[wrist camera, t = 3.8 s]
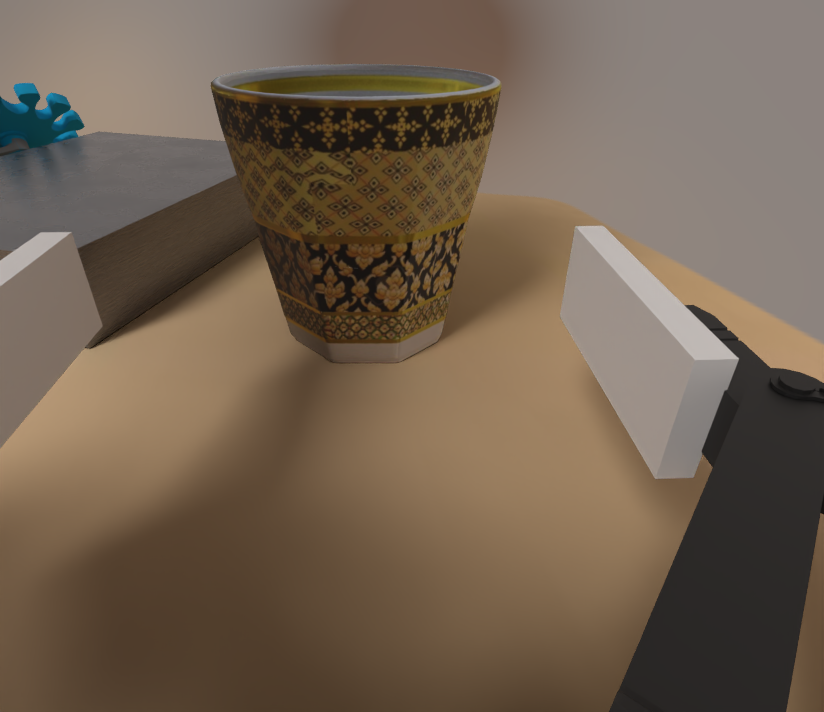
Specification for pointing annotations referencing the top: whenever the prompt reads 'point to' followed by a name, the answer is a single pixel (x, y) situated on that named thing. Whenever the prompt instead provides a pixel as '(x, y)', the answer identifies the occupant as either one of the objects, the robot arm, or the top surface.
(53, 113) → the gear
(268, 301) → the top surface
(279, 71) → the ceramic cup
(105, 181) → the stand
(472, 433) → the top surface
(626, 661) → the top surface
